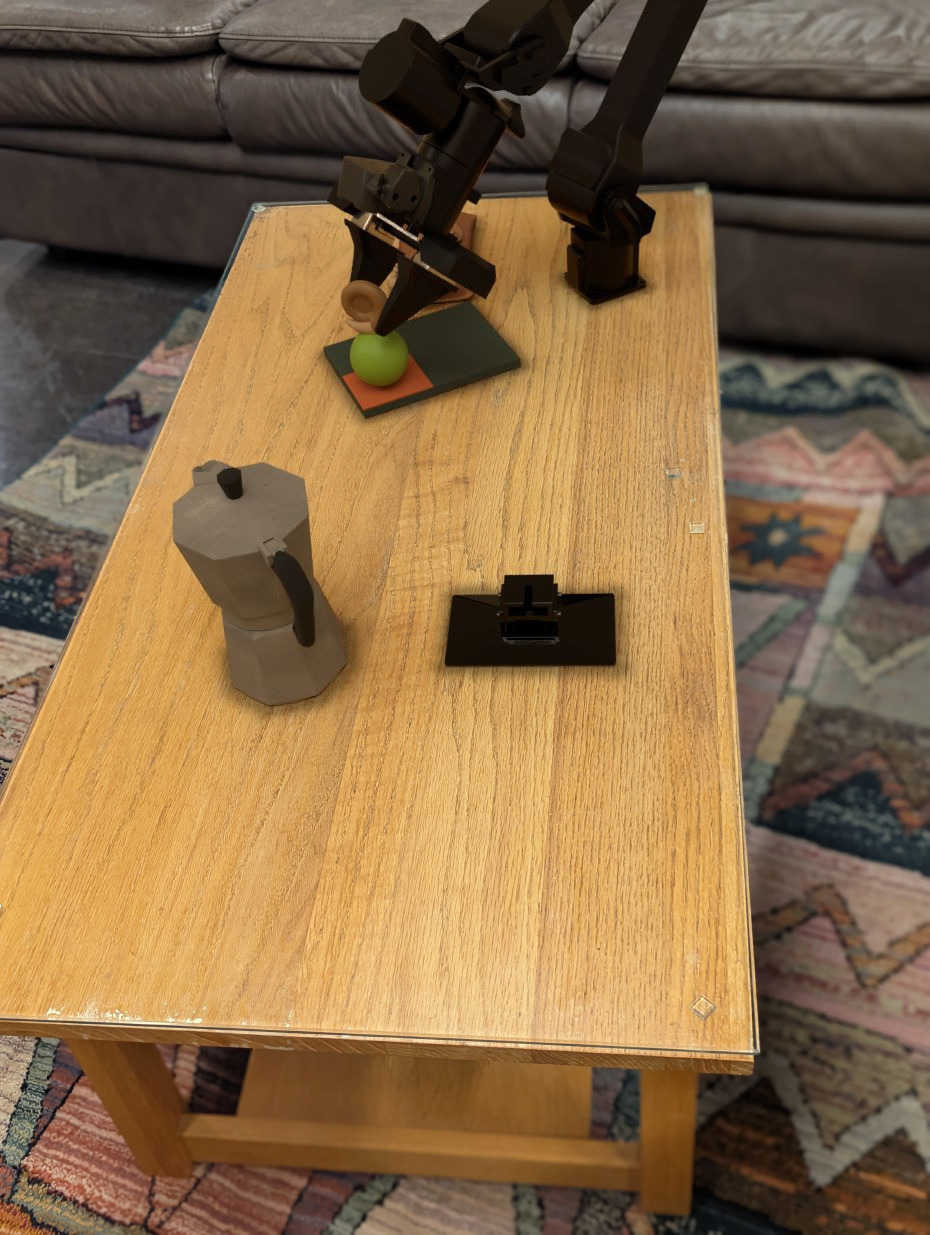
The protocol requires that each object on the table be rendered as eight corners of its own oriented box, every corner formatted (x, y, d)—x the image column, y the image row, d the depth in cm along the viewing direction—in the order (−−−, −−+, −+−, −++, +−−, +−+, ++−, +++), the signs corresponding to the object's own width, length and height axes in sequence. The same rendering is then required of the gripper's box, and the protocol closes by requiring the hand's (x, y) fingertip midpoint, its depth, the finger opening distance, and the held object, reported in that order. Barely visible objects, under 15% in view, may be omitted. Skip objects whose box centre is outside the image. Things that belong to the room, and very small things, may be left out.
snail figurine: (414, 399, 99) (390, 282, 90) (349, 396, 101) (319, 281, 92) (429, 365, 102) (408, 248, 94) (366, 362, 104) (339, 248, 95)
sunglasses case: (478, 295, 112) (439, 247, 108) (424, 330, 115) (385, 284, 111) (477, 212, 124) (443, 166, 120) (429, 246, 127) (393, 201, 123)
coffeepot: (196, 635, 83) (120, 451, 70) (304, 581, 86) (250, 395, 73) (285, 768, 74) (217, 585, 61) (402, 702, 77) (362, 514, 64)
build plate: (444, 668, 79) (436, 625, 75) (453, 596, 84) (446, 553, 80) (616, 667, 77) (616, 623, 74) (614, 593, 82) (614, 549, 79)
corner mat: (470, 309, 111) (469, 299, 110) (520, 366, 103) (520, 356, 102) (324, 355, 108) (322, 345, 107) (365, 419, 100) (363, 408, 99)
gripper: (325, 83, 91) (243, 251, 96) (453, 149, 80) (355, 336, 85) (413, 144, 100) (334, 296, 104) (540, 211, 89) (446, 378, 93)
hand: (363, 323), depth 96 cm, fingers closed on snail figurine, 4 cm apart
